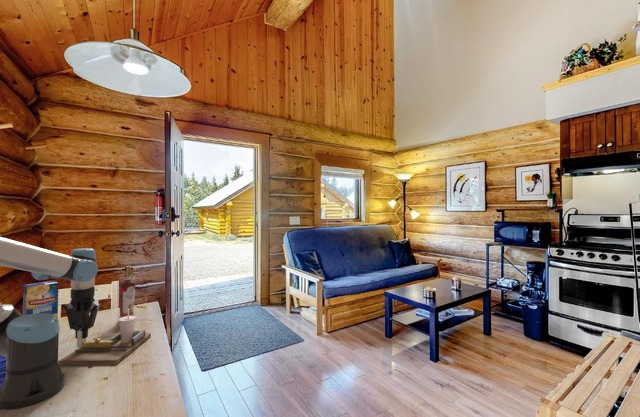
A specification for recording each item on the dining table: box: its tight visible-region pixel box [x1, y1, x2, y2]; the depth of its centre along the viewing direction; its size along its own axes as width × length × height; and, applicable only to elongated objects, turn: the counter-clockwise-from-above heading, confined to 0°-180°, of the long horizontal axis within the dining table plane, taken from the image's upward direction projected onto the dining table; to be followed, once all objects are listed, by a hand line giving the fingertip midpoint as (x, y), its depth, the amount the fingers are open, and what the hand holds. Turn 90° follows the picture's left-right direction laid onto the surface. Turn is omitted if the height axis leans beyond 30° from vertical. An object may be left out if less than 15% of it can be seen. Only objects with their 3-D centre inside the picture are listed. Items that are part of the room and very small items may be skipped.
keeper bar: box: [82, 337, 113, 349], centre depth 118 cm, size 2×11×4 cm, turn 93°
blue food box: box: [22, 280, 59, 319], centre depth 138 cm, size 7×11×22 cm, turn 146°
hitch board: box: [58, 332, 152, 366], centre depth 121 cm, size 24×21×2 cm
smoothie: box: [117, 308, 137, 343], centre depth 125 cm, size 6×6×14 cm
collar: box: [110, 329, 146, 345], centre depth 126 cm, size 9×10×2 cm
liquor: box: [118, 265, 137, 320], centre depth 153 cm, size 7×7×28 cm
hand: (81, 346), depth 117 cm, fingers closed
